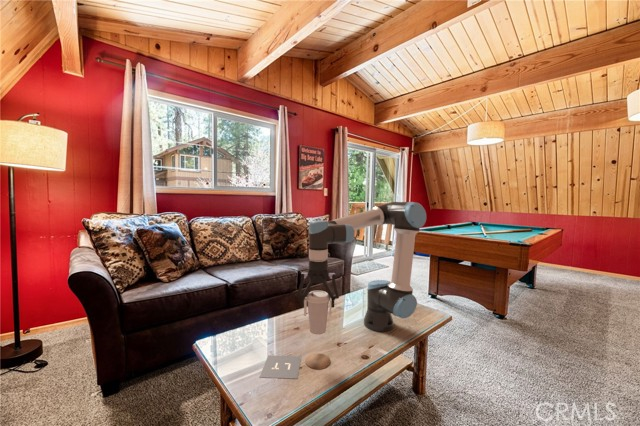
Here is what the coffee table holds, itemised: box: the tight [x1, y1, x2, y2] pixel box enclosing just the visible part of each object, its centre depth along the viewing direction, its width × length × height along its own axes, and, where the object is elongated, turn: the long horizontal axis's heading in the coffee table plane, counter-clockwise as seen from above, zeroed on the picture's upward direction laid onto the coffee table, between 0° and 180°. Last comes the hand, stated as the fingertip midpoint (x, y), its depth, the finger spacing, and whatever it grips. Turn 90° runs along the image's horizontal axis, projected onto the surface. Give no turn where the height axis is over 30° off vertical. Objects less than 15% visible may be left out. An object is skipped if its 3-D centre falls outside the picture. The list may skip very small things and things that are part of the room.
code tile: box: [259, 354, 302, 380], centre depth 107 cm, size 14×14×1 cm
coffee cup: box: [306, 290, 331, 335], centre depth 109 cm, size 10×10×15 cm
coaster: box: [305, 353, 331, 370], centre depth 110 cm, size 10×10×1 cm
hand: (317, 314), depth 109 cm, fingers closed on coffee cup, 9 cm apart
